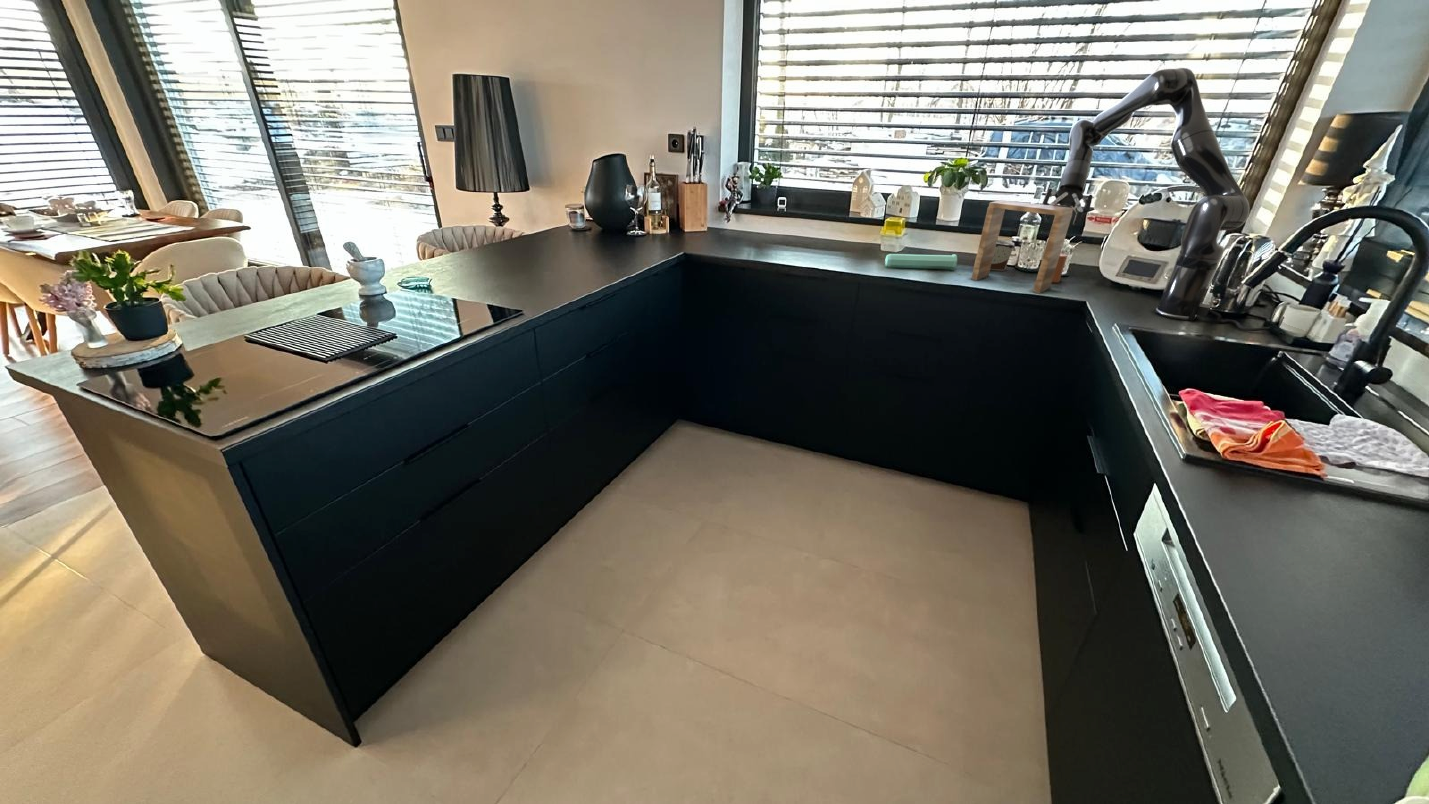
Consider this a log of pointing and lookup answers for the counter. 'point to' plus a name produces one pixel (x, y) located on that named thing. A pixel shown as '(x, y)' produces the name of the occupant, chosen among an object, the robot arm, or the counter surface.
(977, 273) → the shelf
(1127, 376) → the counter surface
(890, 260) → the container
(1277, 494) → the counter surface
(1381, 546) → the counter surface
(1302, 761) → the counter surface
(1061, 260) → the tea tin
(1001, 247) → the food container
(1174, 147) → the robot arm
